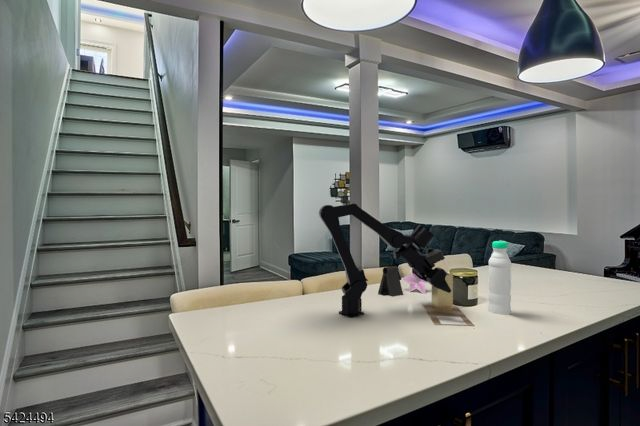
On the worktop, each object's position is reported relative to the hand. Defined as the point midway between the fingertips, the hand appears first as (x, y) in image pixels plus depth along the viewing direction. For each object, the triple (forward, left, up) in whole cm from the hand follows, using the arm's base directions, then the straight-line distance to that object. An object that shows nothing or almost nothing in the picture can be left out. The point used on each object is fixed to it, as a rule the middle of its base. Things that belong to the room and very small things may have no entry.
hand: (444, 288), depth 127 cm
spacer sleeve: (-1, 0, -7) cm, 7 cm away
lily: (+17, +24, -8) cm, 31 cm away
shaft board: (-5, -4, -8) cm, 10 cm away
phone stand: (+2, +26, -8) cm, 28 cm away
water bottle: (+12, -14, -8) cm, 20 cm away
